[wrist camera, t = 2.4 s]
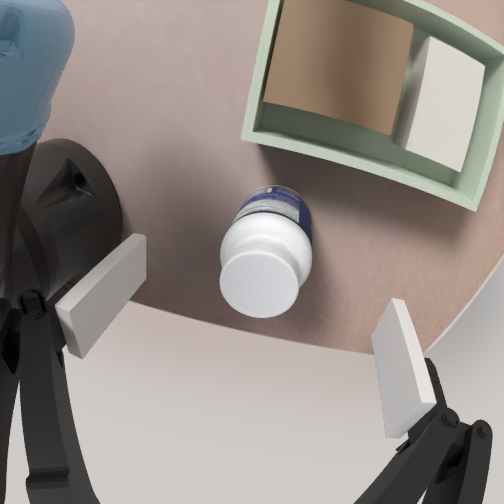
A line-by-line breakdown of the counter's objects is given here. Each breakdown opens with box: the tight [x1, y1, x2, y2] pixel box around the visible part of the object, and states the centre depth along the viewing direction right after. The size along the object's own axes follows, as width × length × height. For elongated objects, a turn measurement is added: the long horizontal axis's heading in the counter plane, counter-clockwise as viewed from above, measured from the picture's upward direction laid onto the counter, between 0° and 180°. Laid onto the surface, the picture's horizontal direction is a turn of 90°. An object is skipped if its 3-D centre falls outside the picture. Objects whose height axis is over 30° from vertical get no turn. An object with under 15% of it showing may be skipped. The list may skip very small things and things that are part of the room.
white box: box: [393, 36, 485, 172], centre depth 15 cm, size 4×8×3 cm, turn 169°
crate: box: [240, 0, 504, 212], centre depth 15 cm, size 16×12×4 cm
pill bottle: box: [220, 185, 312, 318], centre depth 19 cm, size 5×5×10 cm
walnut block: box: [263, 0, 414, 136], centre depth 15 cm, size 7×7×5 cm
